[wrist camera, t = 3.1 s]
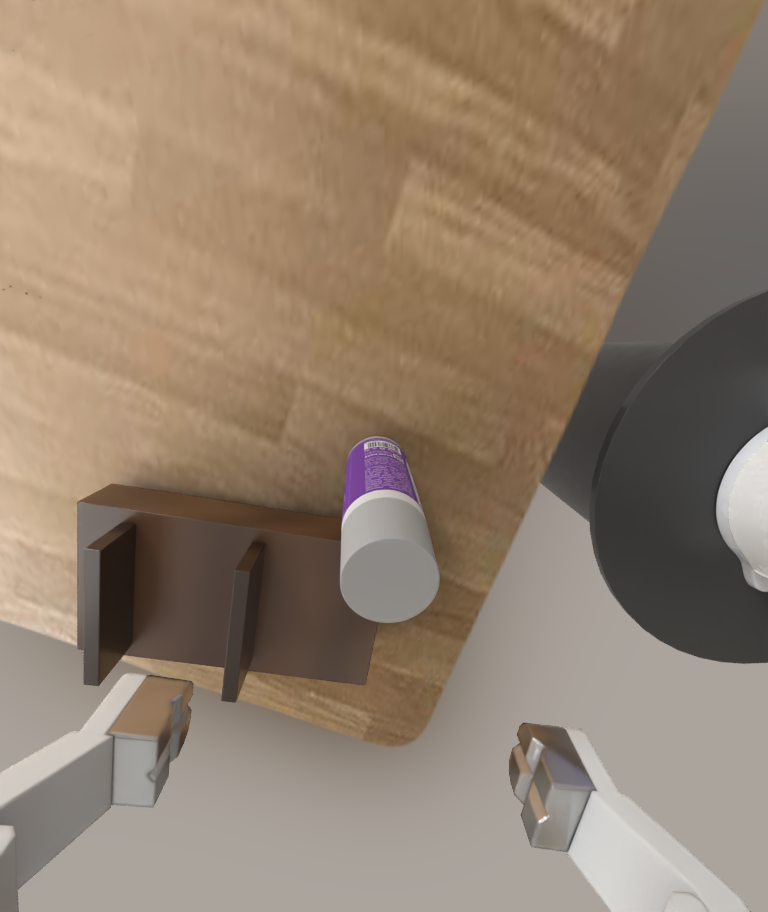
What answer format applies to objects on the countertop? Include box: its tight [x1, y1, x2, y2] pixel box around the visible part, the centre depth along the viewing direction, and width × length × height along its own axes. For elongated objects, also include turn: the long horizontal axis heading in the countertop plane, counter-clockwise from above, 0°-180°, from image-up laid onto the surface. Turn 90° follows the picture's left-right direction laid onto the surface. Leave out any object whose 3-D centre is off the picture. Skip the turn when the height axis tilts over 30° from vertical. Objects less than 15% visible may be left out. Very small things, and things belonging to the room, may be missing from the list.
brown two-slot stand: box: [77, 484, 378, 702], centre depth 31 cm, size 22×12×8 cm, turn 80°
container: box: [340, 436, 440, 623], centre depth 26 cm, size 5×5×15 cm
